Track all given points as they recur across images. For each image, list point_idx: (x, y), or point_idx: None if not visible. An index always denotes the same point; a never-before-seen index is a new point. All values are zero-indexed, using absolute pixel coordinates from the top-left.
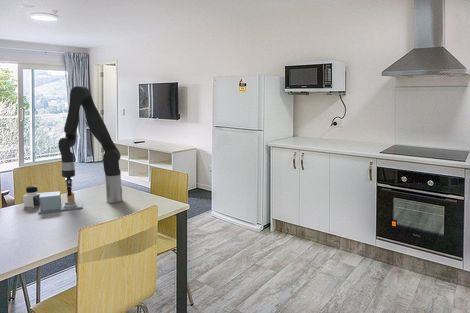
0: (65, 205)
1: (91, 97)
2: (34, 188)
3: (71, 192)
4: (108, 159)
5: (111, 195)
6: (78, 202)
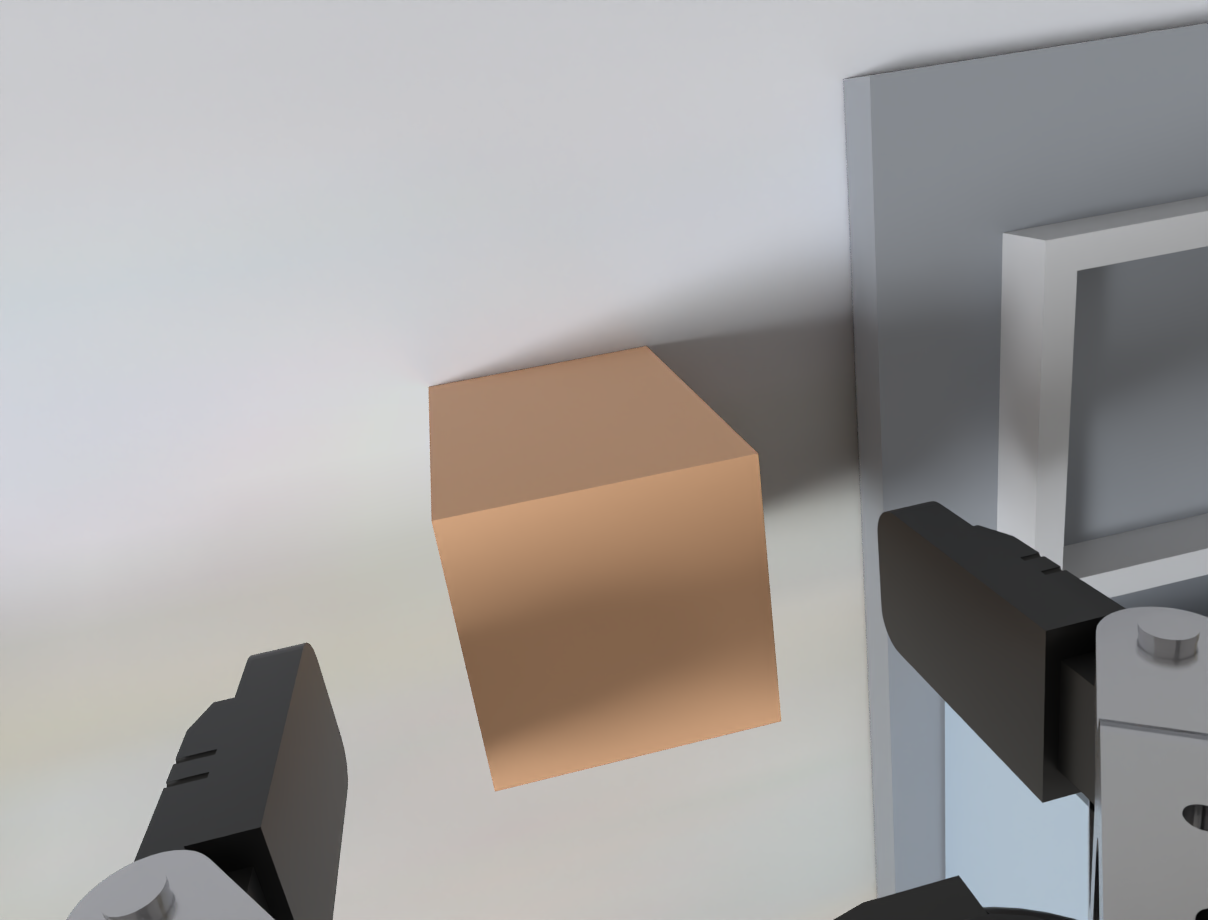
0: (1095, 523)
1: None
2: None
3: (604, 592)
4: None
5: None
6: (936, 184)
